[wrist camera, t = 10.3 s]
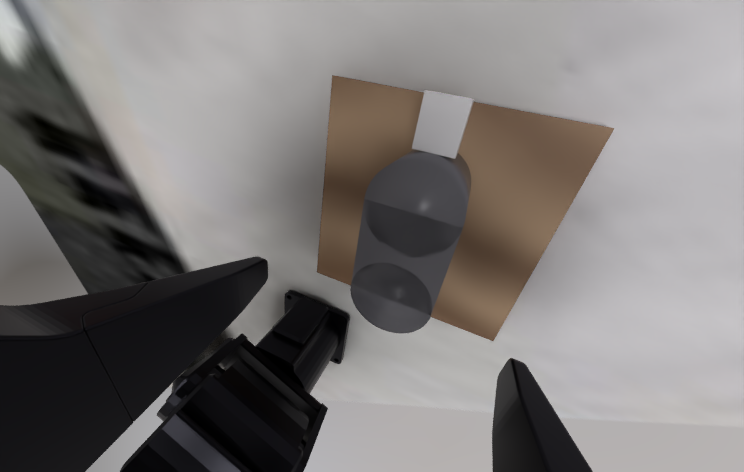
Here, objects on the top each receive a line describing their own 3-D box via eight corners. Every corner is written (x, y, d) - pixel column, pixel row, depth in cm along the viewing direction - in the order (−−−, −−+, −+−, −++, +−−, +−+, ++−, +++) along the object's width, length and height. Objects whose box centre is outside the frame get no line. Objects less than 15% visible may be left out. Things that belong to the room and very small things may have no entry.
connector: (434, 290, 19) (419, 345, 14) (376, 269, 20) (346, 314, 16) (501, 104, 13) (508, 104, 9) (413, 88, 14) (382, 81, 10)
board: (492, 332, 19) (493, 341, 19) (321, 267, 23) (317, 272, 22) (607, 127, 13) (614, 128, 12) (339, 76, 16) (332, 75, 15)
